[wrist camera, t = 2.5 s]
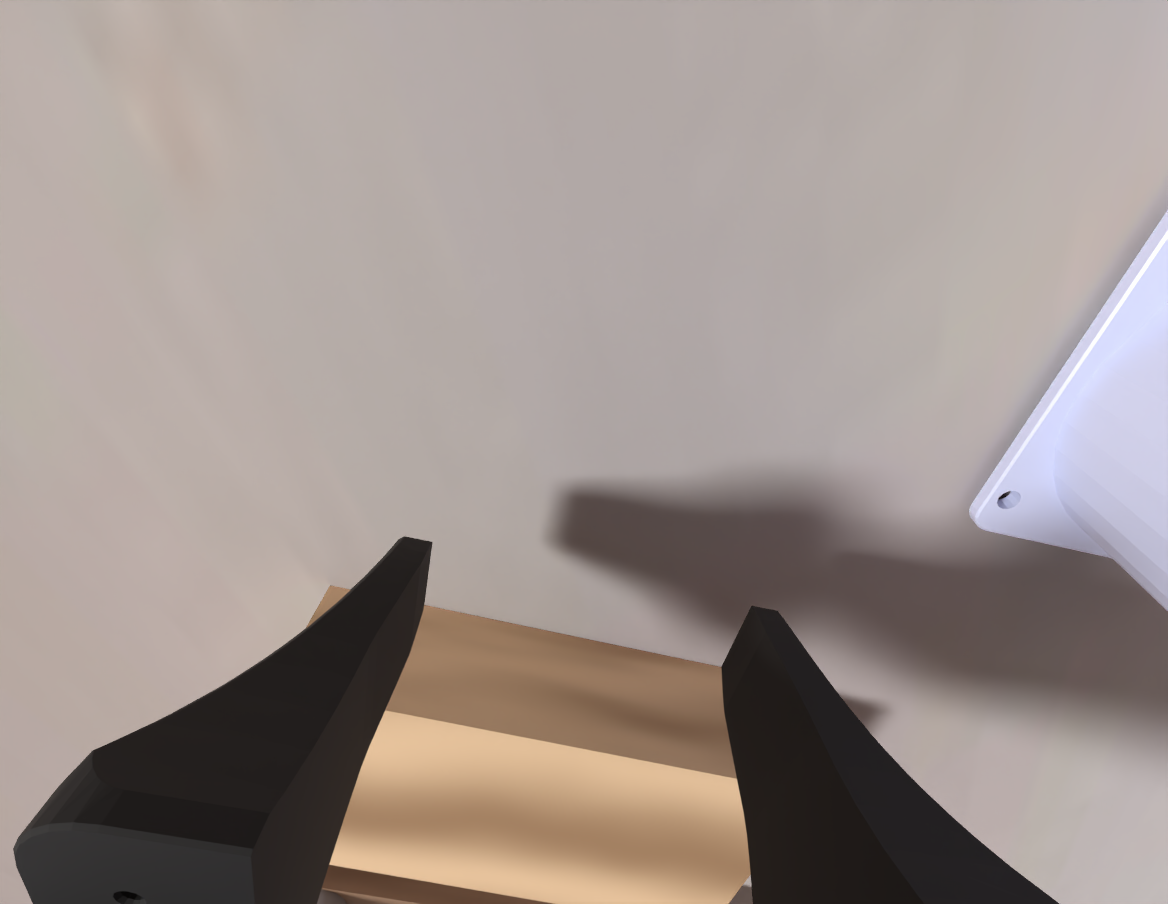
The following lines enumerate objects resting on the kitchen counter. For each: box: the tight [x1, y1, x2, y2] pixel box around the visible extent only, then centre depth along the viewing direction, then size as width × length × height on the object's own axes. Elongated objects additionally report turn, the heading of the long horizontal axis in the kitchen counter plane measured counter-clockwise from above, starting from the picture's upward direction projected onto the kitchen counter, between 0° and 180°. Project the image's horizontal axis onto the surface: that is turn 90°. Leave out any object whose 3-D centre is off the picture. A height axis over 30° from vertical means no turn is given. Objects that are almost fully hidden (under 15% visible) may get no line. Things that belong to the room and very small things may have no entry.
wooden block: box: [306, 586, 751, 904], centre depth 20 cm, size 8×14×4 cm, turn 76°
